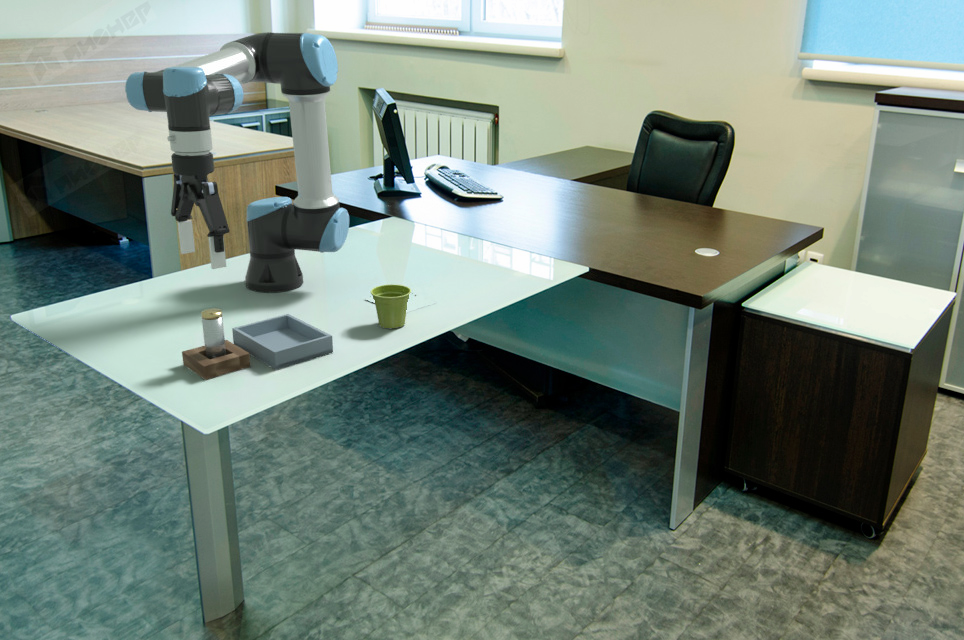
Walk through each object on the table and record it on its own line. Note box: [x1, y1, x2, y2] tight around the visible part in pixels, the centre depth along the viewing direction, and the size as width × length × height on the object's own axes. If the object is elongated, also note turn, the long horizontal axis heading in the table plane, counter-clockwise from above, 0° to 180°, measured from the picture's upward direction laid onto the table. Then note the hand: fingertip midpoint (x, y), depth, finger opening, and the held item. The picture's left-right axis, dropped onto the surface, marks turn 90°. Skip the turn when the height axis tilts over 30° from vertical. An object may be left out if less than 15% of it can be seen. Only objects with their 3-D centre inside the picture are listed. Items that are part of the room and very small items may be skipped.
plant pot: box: [370, 283, 412, 329], centre depth 193 cm, size 9×9×9 cm
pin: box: [200, 308, 226, 359], centre depth 168 cm, size 4×4×12 cm
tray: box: [231, 313, 334, 371], centre depth 179 cm, size 14×18×4 cm
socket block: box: [181, 339, 252, 381], centre depth 170 cm, size 10×10×3 cm
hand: (203, 260), depth 162 cm, fingers open, 13 cm apart
